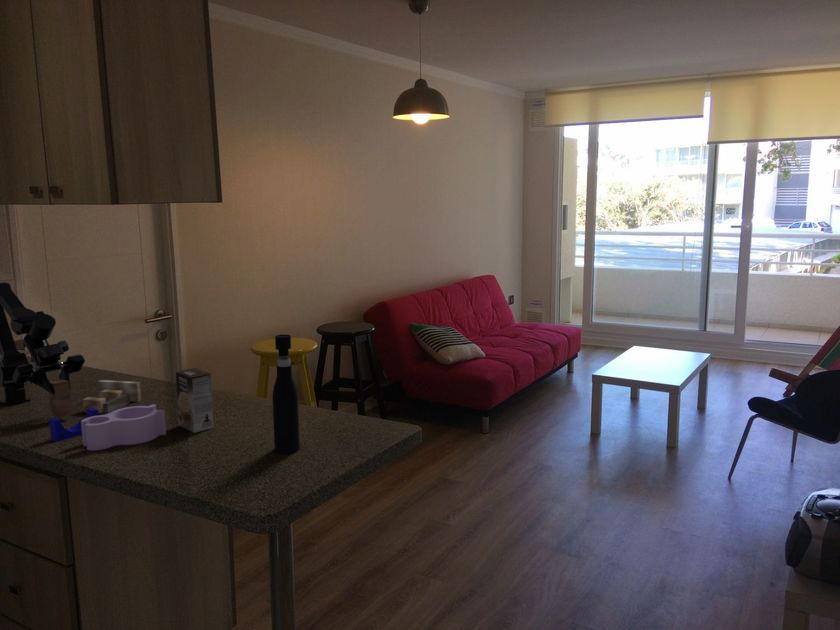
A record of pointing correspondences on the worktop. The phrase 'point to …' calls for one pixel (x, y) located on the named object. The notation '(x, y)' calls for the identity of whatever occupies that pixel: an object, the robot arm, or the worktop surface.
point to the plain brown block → (60, 398)
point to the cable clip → (61, 433)
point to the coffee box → (194, 399)
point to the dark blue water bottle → (285, 401)
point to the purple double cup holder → (123, 427)
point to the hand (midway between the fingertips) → (61, 391)
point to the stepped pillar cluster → (113, 396)
